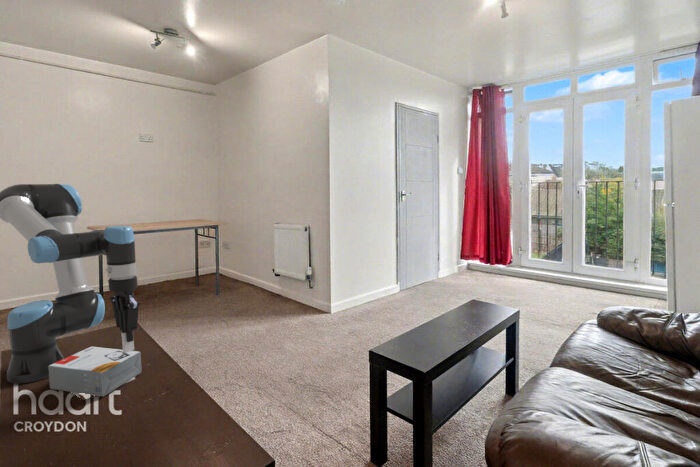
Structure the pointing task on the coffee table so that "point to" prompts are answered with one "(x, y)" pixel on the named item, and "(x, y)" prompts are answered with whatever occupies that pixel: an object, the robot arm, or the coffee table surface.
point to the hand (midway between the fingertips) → (128, 350)
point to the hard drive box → (94, 370)
